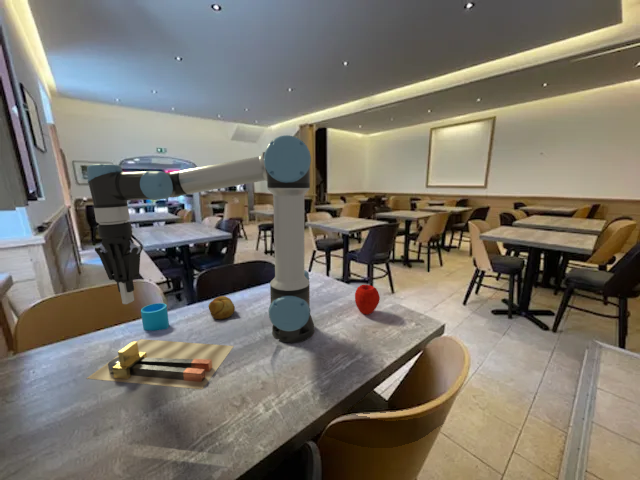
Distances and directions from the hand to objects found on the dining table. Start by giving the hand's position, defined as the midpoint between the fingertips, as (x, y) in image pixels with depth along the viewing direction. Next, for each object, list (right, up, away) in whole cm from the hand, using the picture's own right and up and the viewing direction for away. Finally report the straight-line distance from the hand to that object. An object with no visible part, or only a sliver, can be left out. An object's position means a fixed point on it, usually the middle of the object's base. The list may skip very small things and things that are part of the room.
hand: (128, 302), depth 80 cm
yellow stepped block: (+3, -18, -4) cm, 19 cm away
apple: (+76, -12, +33) cm, 84 cm away
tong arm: (+14, -18, -3) cm, 23 cm away
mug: (-5, -14, +23) cm, 28 cm away
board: (+11, -19, +1) cm, 22 cm away
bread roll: (+16, -13, +33) cm, 39 cm away
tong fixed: (+11, -18, -5) cm, 22 cm away
